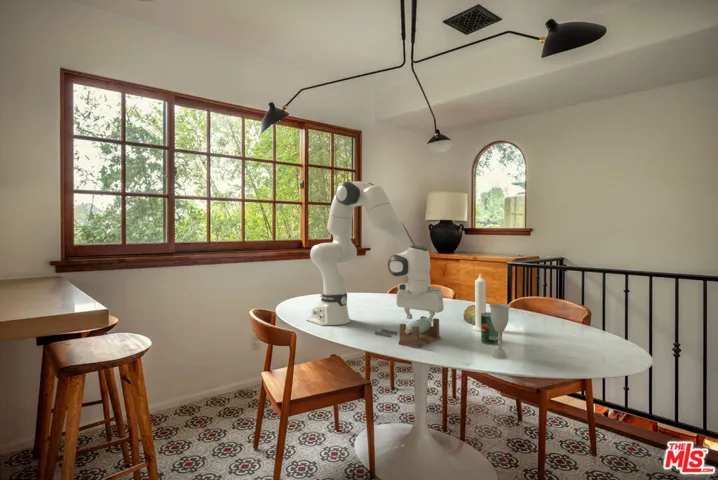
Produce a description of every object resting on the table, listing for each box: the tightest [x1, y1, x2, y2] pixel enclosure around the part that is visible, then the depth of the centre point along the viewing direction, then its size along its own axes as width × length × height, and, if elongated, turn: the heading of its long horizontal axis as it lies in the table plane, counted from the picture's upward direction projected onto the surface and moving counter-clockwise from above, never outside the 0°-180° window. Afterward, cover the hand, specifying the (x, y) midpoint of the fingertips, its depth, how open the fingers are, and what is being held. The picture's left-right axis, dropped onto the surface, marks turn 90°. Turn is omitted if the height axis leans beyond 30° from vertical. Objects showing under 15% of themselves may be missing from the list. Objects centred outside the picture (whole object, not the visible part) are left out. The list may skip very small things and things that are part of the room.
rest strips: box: [374, 328, 398, 338], centre depth 170 cm, size 8×5×1 cm, turn 49°
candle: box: [472, 273, 487, 333], centre depth 174 cm, size 7×7×25 cm
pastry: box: [463, 304, 488, 326], centre depth 189 cm, size 14×12×8 cm
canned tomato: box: [480, 311, 503, 346], centre depth 156 cm, size 8×8×11 cm
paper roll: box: [404, 317, 432, 334], centre depth 160 cm, size 16×6×6 cm
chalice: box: [488, 303, 511, 360], centre depth 139 cm, size 7×7×18 cm
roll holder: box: [398, 315, 441, 349], centre depth 159 cm, size 17×9×8 cm, turn 139°
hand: (419, 320), depth 159 cm, fingers open, 8 cm apart
